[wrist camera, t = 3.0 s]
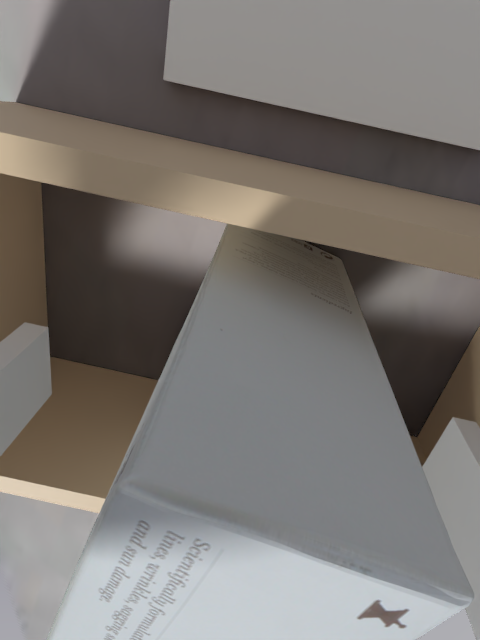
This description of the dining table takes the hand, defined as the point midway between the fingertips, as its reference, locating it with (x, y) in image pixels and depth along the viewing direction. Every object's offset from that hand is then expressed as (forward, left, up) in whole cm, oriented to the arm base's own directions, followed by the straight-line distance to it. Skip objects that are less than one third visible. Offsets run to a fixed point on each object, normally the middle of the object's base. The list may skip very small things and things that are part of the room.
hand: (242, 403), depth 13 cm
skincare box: (0, 0, -8) cm, 8 cm away
